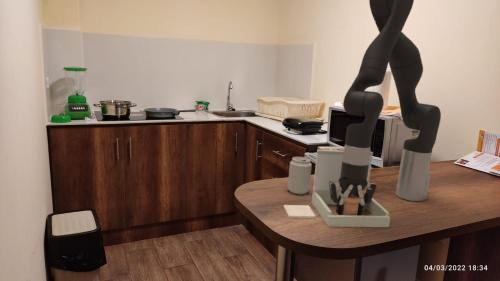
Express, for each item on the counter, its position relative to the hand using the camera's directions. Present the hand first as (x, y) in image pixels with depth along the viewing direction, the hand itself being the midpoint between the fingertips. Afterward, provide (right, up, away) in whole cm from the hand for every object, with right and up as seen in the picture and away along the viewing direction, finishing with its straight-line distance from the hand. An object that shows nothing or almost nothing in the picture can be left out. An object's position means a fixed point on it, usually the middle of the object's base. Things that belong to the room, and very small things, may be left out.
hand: (348, 215), depth 109 cm
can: (-12, +4, +20) cm, 24 cm away
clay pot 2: (+5, 0, +8) cm, 9 cm away
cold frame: (+1, 0, +3) cm, 3 cm away
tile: (-14, 0, +2) cm, 15 cm away
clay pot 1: (0, -1, 0) cm, 1 cm away
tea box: (+3, +5, +27) cm, 28 cm away
